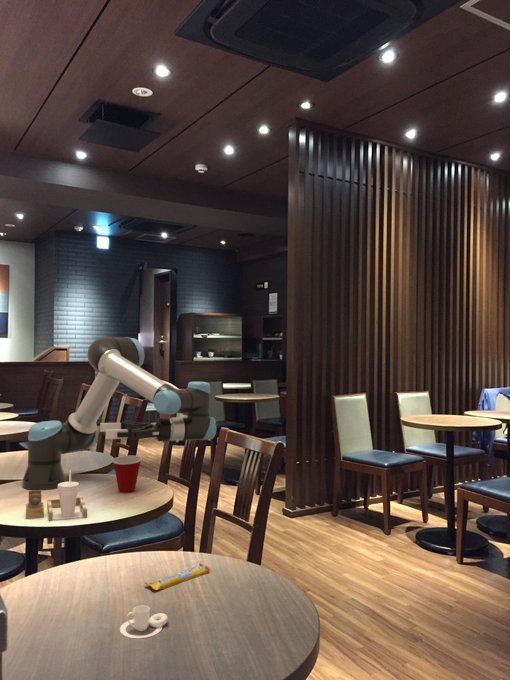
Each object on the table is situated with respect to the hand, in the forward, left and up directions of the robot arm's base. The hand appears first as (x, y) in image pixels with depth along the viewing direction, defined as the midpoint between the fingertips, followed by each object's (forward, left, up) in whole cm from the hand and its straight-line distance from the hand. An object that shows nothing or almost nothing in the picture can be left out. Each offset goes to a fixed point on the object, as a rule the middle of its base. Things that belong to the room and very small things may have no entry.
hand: (102, 430), depth 182 cm
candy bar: (+50, +30, -27) cm, 64 cm away
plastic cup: (-28, +3, -26) cm, 39 cm away
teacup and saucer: (+74, +27, -27) cm, 84 cm away
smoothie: (+3, -9, -26) cm, 28 cm away
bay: (-1, -11, -26) cm, 28 cm away
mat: (+3, -9, -26) cm, 28 cm away
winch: (+2, -20, -26) cm, 33 cm away
